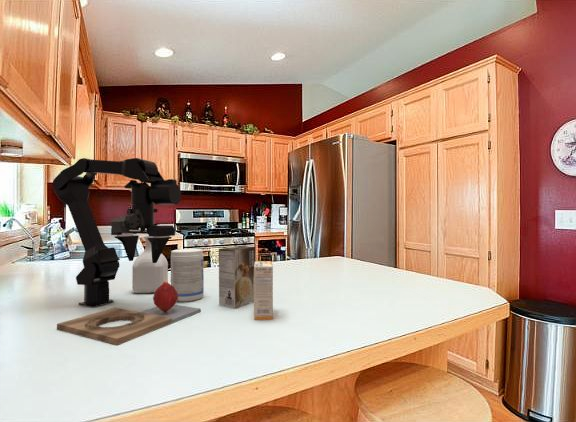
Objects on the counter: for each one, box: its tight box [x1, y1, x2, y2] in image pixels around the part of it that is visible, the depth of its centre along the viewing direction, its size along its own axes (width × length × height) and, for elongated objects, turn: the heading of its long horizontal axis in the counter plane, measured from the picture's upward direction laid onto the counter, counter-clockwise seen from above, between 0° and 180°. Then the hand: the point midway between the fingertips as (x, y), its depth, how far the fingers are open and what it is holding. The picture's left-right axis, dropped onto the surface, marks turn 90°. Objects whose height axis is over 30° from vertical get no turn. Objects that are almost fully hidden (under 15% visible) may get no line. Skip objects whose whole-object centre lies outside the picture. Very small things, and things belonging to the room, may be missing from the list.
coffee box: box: [218, 245, 256, 309], centre depth 92 cm, size 9×6×16 cm
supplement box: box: [253, 260, 274, 321], centre depth 82 cm, size 8×5×13 cm, turn 5°
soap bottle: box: [131, 222, 169, 294], centre depth 108 cm, size 10×10×23 cm
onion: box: [152, 280, 178, 312], centre depth 82 cm, size 6×6×8 cm
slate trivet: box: [140, 304, 202, 324], centre depth 81 cm, size 12×12×1 cm
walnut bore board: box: [56, 307, 173, 346], centre depth 73 cm, size 20×14×1 cm
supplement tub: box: [170, 248, 205, 303], centre depth 98 cm, size 10×10×15 cm
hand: (142, 261), depth 88 cm, fingers open, 9 cm apart
